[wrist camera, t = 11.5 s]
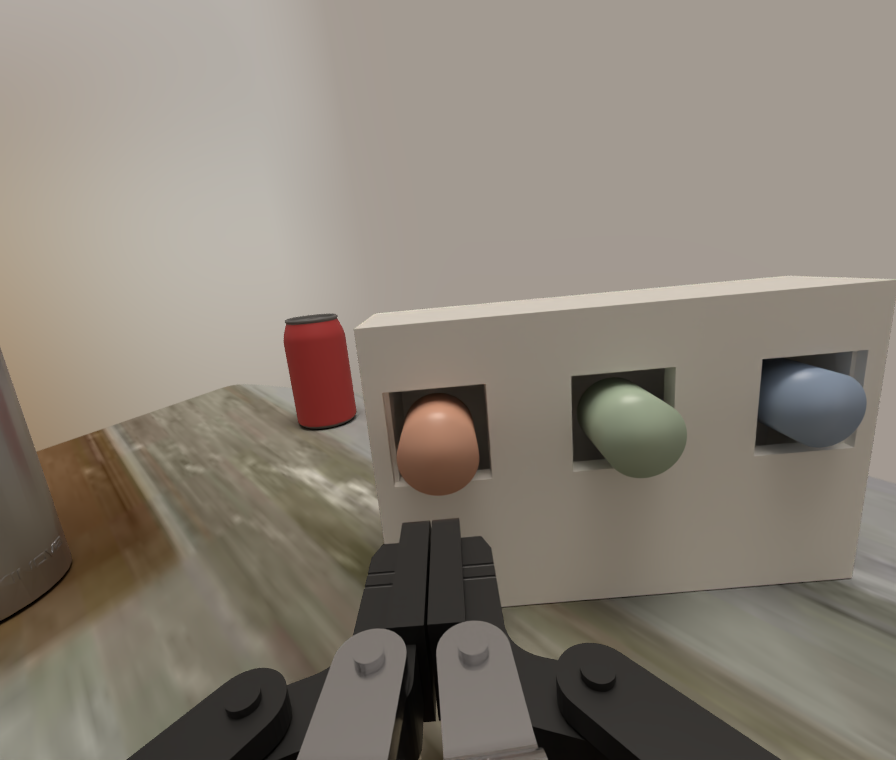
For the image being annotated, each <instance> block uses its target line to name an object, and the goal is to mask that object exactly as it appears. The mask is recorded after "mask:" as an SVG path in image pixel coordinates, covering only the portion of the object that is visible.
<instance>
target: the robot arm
mask: <svg viewBox="0 0 896 760" xmlns="http://www.w3.org/2000/svg"><path fill="white" fill-rule="evenodd" d="M71 562H72V558H71V553H70V550H69V547H68V544H67V541H66V538H65V535H64V533H63V530H62V527H61V524H60V521H59V518H58V515H57V512H56V509H55V506H54V502H53V499H52V497H51V494H50V491H49V488H48V485H47V482H46V479H45V476H44V473H43V470H42V468H41V465H40V462H39V459H38V456H37V453H36V450H35V447H34V444H33V441H32V438H31V436H30V433H29V430H28V427H27V424H26V421H25V418H24V415H23V412H22V409H21V406H20V404H19V401H18V398H17V395H16V392H15V389H14V386H13V383H12V380H11V378H10V375H9V372H8V369H7V366H6V363H5V360H4V357H3V354H2V352H1V348H0V621H1V620H3V619H4V618H6V617H8V616H10V615H12V614H14V613H15V612H17V611H18V610H20V609H22V608H23V607H25V606H26V605H28V604H30V603H31V602H33V601H34V600H35V599H37V598H38V597H40V596H41V595H42V594H44V593H45V592H46V591H48V590H49V589H50V588H51V587H52V586H53V585H54V584H55V583H57V582H58V581H59V580H60V579H61V578H62V577H63V575H64V574H65V573H66V571H67V570H68V569H69V567H70V564H71ZM436 701H437V709H438V717H439V721H441V727H442V741H443V755H444V760H781V759H779V758H778V757H776V756H775V755H773V754H772V753H770V752H769V751H767V750H766V749H764V748H763V747H761V746H760V745H758V744H757V743H755V742H754V741H752V740H751V739H749V738H748V737H746V736H745V735H743V734H742V733H740V732H739V731H737V730H736V729H734V728H733V727H731V726H730V725H728V724H727V723H725V722H724V721H722V720H721V719H719V718H718V717H716V716H715V715H713V714H712V713H710V712H709V711H707V710H706V709H704V708H703V707H701V706H700V705H698V704H697V703H695V702H694V701H692V700H691V699H689V698H688V697H686V696H685V695H683V694H682V693H680V692H679V691H677V690H676V689H674V688H673V687H671V686H670V685H668V684H667V683H665V682H664V681H662V680H661V679H659V678H658V677H656V676H655V675H653V674H652V673H650V672H649V671H647V670H646V669H644V668H643V667H641V666H640V665H638V664H637V663H635V662H634V661H632V660H631V659H629V658H628V657H626V656H625V655H623V654H622V653H620V652H618V651H617V650H615V649H613V648H611V647H608V646H605V645H602V644H596V643H582V644H578V645H574V646H572V647H570V648H568V649H567V650H566V651H564V653H563V654H562V655H561V656H560V658H559V660H554V659H549V658H544V657H540V656H537V655H533V654H531V653H529V652H526V651H525V650H523V649H521V648H520V647H519V646H517V645H516V644H515V643H514V642H513V641H512V640H511V638H510V637H509V635H508V634H507V632H506V629H505V625H504V620H503V614H502V608H501V602H500V596H499V590H498V585H497V579H496V573H495V567H494V561H493V555H492V549H491V547H490V546H489V544H488V543H487V542H486V541H485V540H484V539H483V538H482V536H474V537H462V538H461V530H460V520H459V518H450V519H439V520H432V528H431V522H430V520H428V521H416V522H405V523H402V527H401V533H400V540H399V543H392V544H383V545H382V546H381V547H380V549H379V550H378V551H377V552H376V553H375V555H374V556H373V557H372V559H371V563H370V567H369V571H368V576H367V580H366V584H365V589H364V592H363V596H362V600H361V604H360V609H359V613H358V617H357V621H356V625H355V629H354V633H353V636H352V637H351V638H349V639H348V640H347V641H346V642H344V643H343V644H342V646H341V647H340V648H339V649H338V651H337V652H336V654H335V656H334V658H333V661H332V664H331V666H330V667H329V668H327V669H325V670H324V671H322V672H320V673H318V674H315V675H313V676H310V677H308V678H305V679H302V680H300V681H297V682H294V683H291V684H289V685H286V681H285V679H284V677H283V676H282V675H281V673H279V672H278V671H276V670H273V669H269V668H257V669H252V670H249V671H246V672H243V673H241V674H239V675H237V676H235V677H233V678H232V679H230V680H229V681H227V682H226V683H225V684H223V685H222V686H221V687H219V688H218V689H217V690H216V691H214V692H213V693H212V694H210V695H209V696H208V697H207V698H205V699H204V700H203V701H201V702H200V703H199V704H198V705H196V706H195V707H194V708H192V709H191V710H190V711H189V712H187V713H186V714H185V715H183V716H182V717H181V718H180V719H178V720H177V721H176V722H174V723H173V724H172V725H170V726H169V727H168V728H167V729H165V730H164V731H163V732H161V733H160V734H159V735H158V736H156V737H155V738H154V739H152V740H151V741H150V742H149V743H147V744H146V745H145V746H143V747H142V748H141V749H140V750H138V751H137V752H136V753H134V754H133V755H132V756H131V757H129V758H128V759H127V760H421V751H422V739H423V722H432V721H436Z"/></svg>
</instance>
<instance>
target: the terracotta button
mask: <svg viewBox="0 0 896 760" xmlns="http://www.w3.org/2000/svg"><path fill="white" fill-rule="evenodd" d="M397 465H398V469H399V472H400V474H401V475H402V477H403V478H404V480H405V481H406V482H407V483H408V484H409V485H410V486H411V487H412V488H414V489H415V490H417V491H419V492H421V493H424V494H428V495H434V496H442V495H448V494H452V493H455V492H457V491H459V490H461V489H462V488H464V487H465V486H466V485H467V484H468V483H469V482H470V481H471V480H472V479H473V477H474V475H475V474H476V471H477V469H478V465H479V450H478V444H477V439H476V434H475V428H474V423H473V418H472V415H471V412H470V410H469V409H468V407H467V406H466V405H465V404H464V403H463V402H462V401H461V400H460V399H458V398H457V397H455V396H453V395H450V394H446V393H432V394H428V395H425V396H423V397H421V398H419V399H418V400H417V401H415V402H414V403H413V404H412V406H411V407H410V408H409V410H408V412H407V414H406V417H405V421H404V425H403V429H402V433H401V437H400V441H399V445H398V450H397Z"/></svg>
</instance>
